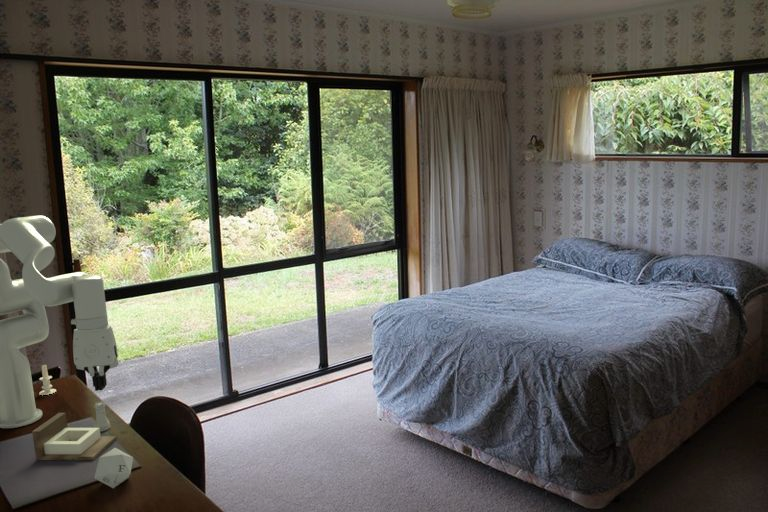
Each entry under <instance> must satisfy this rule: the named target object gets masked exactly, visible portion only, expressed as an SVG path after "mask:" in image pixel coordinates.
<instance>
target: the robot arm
mask: <svg viewBox="0 0 768 512" xmlns="http://www.w3.org/2000/svg"><path fill="white" fill-rule="evenodd" d="M56 233H57V230H56V227H55V224H54V222H52V220H51V219H50V218H49V217H48V216H47V217H46V216H45V215H40V214H38V215H28V216H21V217H14V218H13V217H12V218H9V219H7V220H4V221H3V222H2V223H0V254H5V253H10V252H11V253H12V254H13V255H14V257H16V258H17V260H19V261H20V262H21V263H22V264H23V265H22V271H21V276H22V278H18V279H12V278H11V274H10V273H11V272H10V268H9V265H8V264H7V263H6V262H5V261H4V260H3V259H2V258H1V257H0V316H3V315H7V314H12V313H17V312H19V311H20V312H21V311H22V313H23V314H21V315H16V316H12V317H7V318H4V319H0V429H15V428H20V427H23V426H28V425H31V424H33V423H35V422H37V421H38V420H40V419H41V418H42V417H43V411H42V409H40V408H37V407H36V401H35V394H34V387H33V379H32V372H31V371H32V370H31V365H30V361H29V359H28V358H27V357H26V356H25V355H24V354H23V353H22V352H21V351H20V350H19V349H22V348H24V347H28V346H31V345H35V344H38V343H41V342H43V341H45V340H46V339H47V338H48V336H49V333H50V326H49V320H48V315H47V311H46V307H55V306H56V307H57V306H61V305H64V304H68V303H72V302H73V307H74V312H75V313H74V314H75V318H72V319H71V320H70V324H71V325H75V327H76V328H75V329H73V335H72V337H73V339H72V355H73V363H74V366H75V368H76V369H77V370H81V371H85V372H86V373H88V374H89V376H90V377H91V379H92V386H93V387H94V391H95V392H97V391H100V392H101V391H103V390H104V389H105V388H106V386H107V375H106V373H108V371H109V370H110V369H114V368H117V367H118V366H119V365H120V362H119V360H118V357H119V354H118V345H117V341H116V337H115V334H114V331H113V328H112V325H111V324H109V319H108V311H107V303H106V294H105V287H104V280H103V278H102V277H101V276H100V275H95V274H89V273H87V272H84V271H75V272H71V273H64V274H60V275H59V274H58V275H55V276H51V277H45V276H44V275H43V274H42V273H40V272H41V271H43V270H44V269H45V268H46V267H48V266H49V265H50V264H51V263H52V262H53V260H54V257H55V255H56V253H55V248H54V247H53V245H52V244H51V243H53V241H54V240H55V237H56V235H57V234H56Z"/></svg>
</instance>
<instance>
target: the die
mask: <svg viewBox="0 0 768 512" xmlns="http://www.w3.org/2000/svg"><path fill="white" fill-rule="evenodd" d="M133 462H134V457H133V456H132V455H129V454H128V453H126V452H124V451H122V450H121V449H119V448H117V447H113V448H112V449H110V450H109V451H107V452H106V453H104V454H103V455H100V456H99V457H98V461H97V465H96V470H95V473H94V479H95V480H97V481H99V482H100V483H102V484H104V485H106V486H108V487H110V488H111V489H115V488H116V487H118V486H119V485H120V484H122V483H124V482H125V481H127V480H128V479H129V477H130V475H131V472H132V467H133Z"/></svg>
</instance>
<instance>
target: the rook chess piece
mask: <svg viewBox="0 0 768 512" xmlns="http://www.w3.org/2000/svg"><path fill="white" fill-rule="evenodd" d="M105 408H106V403H105V401H102V400H100V401H97V402H95V403H94V405H93V409H95V411H94V413H95V415H96V418H95V423H94V424H93V426H94V427H93V428H100V433H102V432H105V431H108V430H109V429H111V426H112V425H111V422H110V420H109V419H108V417H107V415H106V409H105Z"/></svg>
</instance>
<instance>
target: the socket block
mask: <svg viewBox="0 0 768 512" xmlns="http://www.w3.org/2000/svg"><path fill="white" fill-rule="evenodd" d="M100 438H101V432H100V428H95V427H68V428H64V429H63V430H62V431H60V432H59V433H58V434H56V435H55V436H54V437H52V438H51V439H50V440H48V441H47V442H46V443H44V450H45V454H82V453H83V452H84V451H85V450H87V449H88V448H89V447H90V446H91V445H92V444H94V443H95V442H96V441H97V440H98V439H100ZM69 440H78V441H69Z"/></svg>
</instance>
